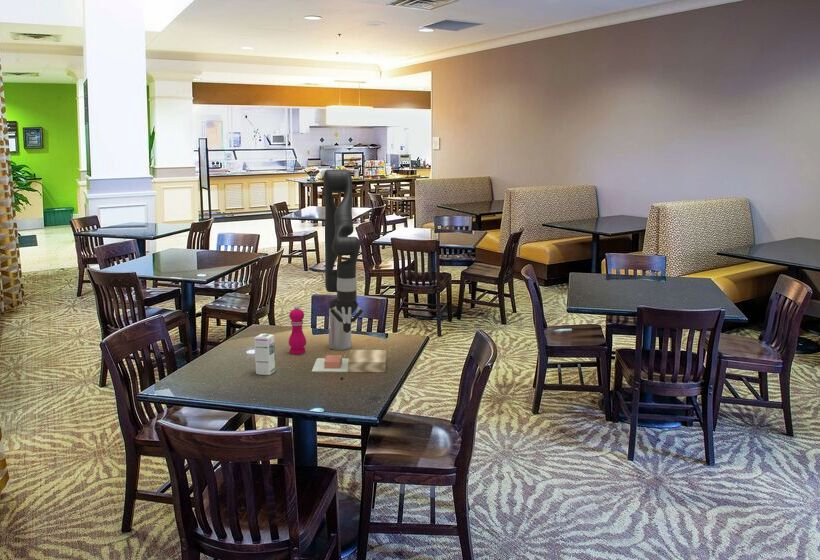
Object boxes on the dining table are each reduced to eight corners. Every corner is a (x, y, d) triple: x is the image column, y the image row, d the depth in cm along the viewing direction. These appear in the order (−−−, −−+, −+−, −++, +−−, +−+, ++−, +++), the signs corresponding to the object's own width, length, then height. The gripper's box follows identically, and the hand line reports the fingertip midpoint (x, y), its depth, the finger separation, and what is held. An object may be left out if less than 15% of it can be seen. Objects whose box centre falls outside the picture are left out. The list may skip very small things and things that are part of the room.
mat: (311, 371, 261) (311, 370, 261) (317, 359, 277) (317, 358, 277) (347, 372, 261) (347, 371, 261) (350, 359, 277) (350, 358, 277)
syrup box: (270, 375, 257) (268, 337, 254) (255, 374, 258) (253, 336, 255) (276, 370, 262) (274, 333, 260) (261, 369, 263) (260, 332, 261)
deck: (348, 372, 261) (348, 362, 260) (351, 359, 277) (351, 349, 276) (385, 372, 261) (385, 362, 261) (386, 359, 277) (386, 350, 276)
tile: (339, 362, 264) (340, 368, 264) (342, 355, 273) (342, 361, 273) (324, 362, 264) (324, 368, 264) (326, 355, 273) (327, 361, 273)
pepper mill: (308, 350, 289) (307, 303, 285) (304, 355, 282) (303, 307, 278) (291, 349, 290) (290, 303, 286) (286, 354, 282) (285, 307, 279)
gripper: (328, 290, 259) (328, 334, 263) (363, 291, 260) (363, 335, 263) (330, 286, 267) (331, 329, 270) (364, 286, 267) (364, 329, 271)
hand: (347, 332), depth 267 cm, fingers closed
